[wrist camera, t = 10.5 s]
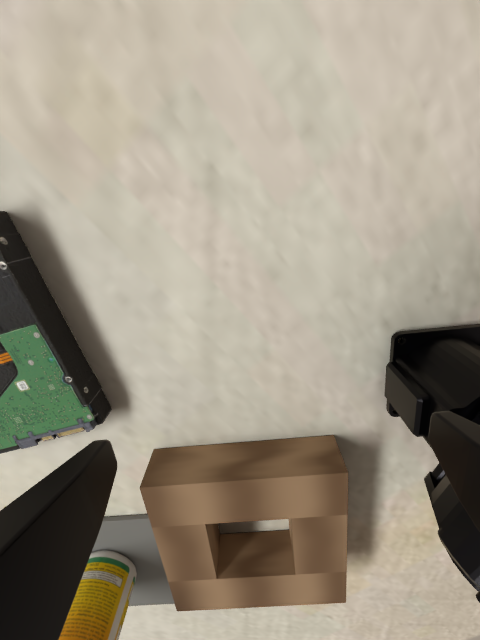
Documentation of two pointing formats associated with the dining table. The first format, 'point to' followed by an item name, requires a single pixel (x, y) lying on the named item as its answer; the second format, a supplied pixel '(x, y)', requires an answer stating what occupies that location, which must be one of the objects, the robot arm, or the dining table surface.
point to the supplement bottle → (101, 598)
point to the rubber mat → (137, 556)
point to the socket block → (250, 505)
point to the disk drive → (39, 357)
